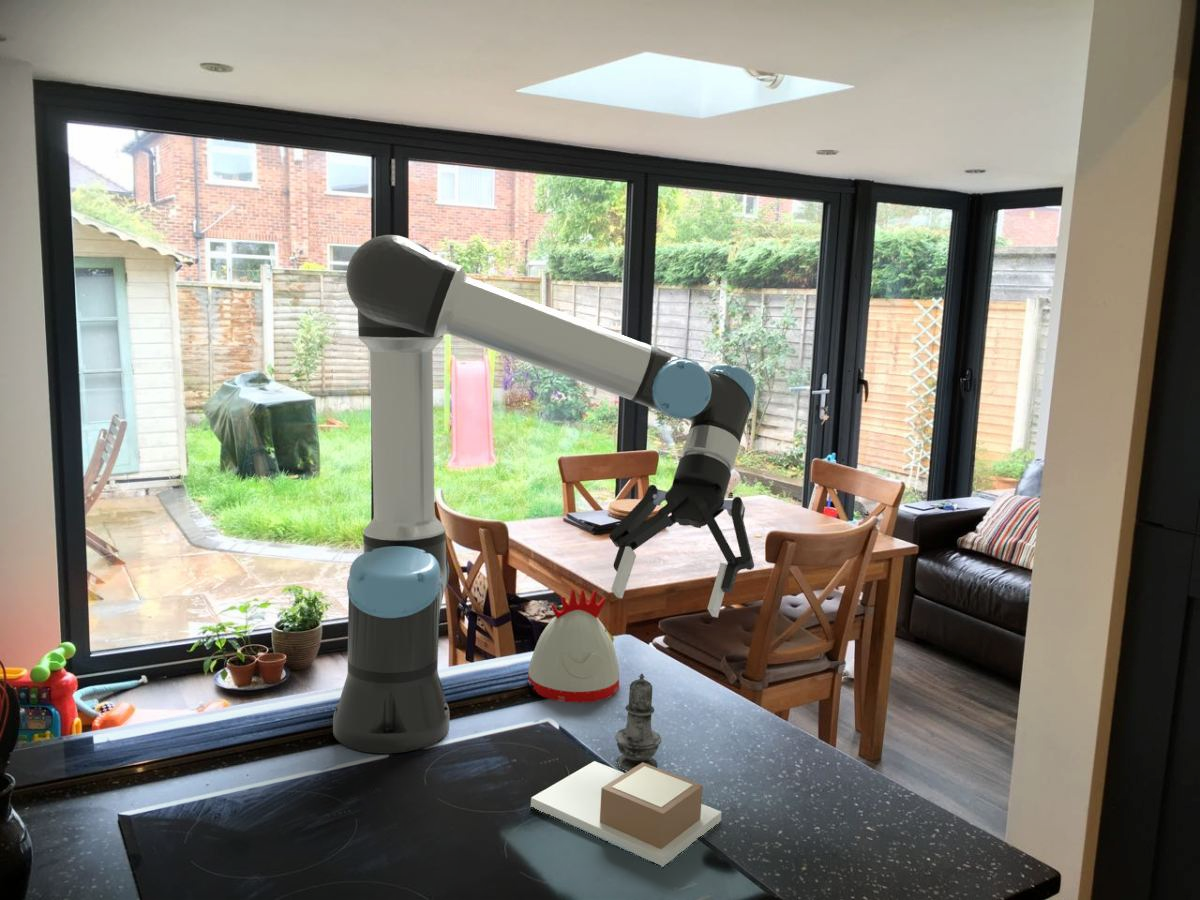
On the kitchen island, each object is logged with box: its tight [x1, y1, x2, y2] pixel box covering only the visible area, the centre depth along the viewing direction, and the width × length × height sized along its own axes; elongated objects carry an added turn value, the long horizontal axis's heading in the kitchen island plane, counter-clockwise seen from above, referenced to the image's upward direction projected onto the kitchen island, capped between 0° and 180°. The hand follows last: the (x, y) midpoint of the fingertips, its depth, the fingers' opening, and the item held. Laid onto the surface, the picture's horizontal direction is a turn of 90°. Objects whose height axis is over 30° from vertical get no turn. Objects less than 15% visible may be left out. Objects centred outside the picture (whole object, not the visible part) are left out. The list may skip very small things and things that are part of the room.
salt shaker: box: [614, 673, 662, 771], centre depth 119 cm, size 6×6×12 cm
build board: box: [530, 760, 722, 866], centre depth 108 cm, size 18×12×5 cm, turn 53°
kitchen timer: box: [527, 587, 620, 703], centre depth 144 cm, size 14×14×15 cm
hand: (663, 603), depth 125 cm, fingers open, 13 cm apart
